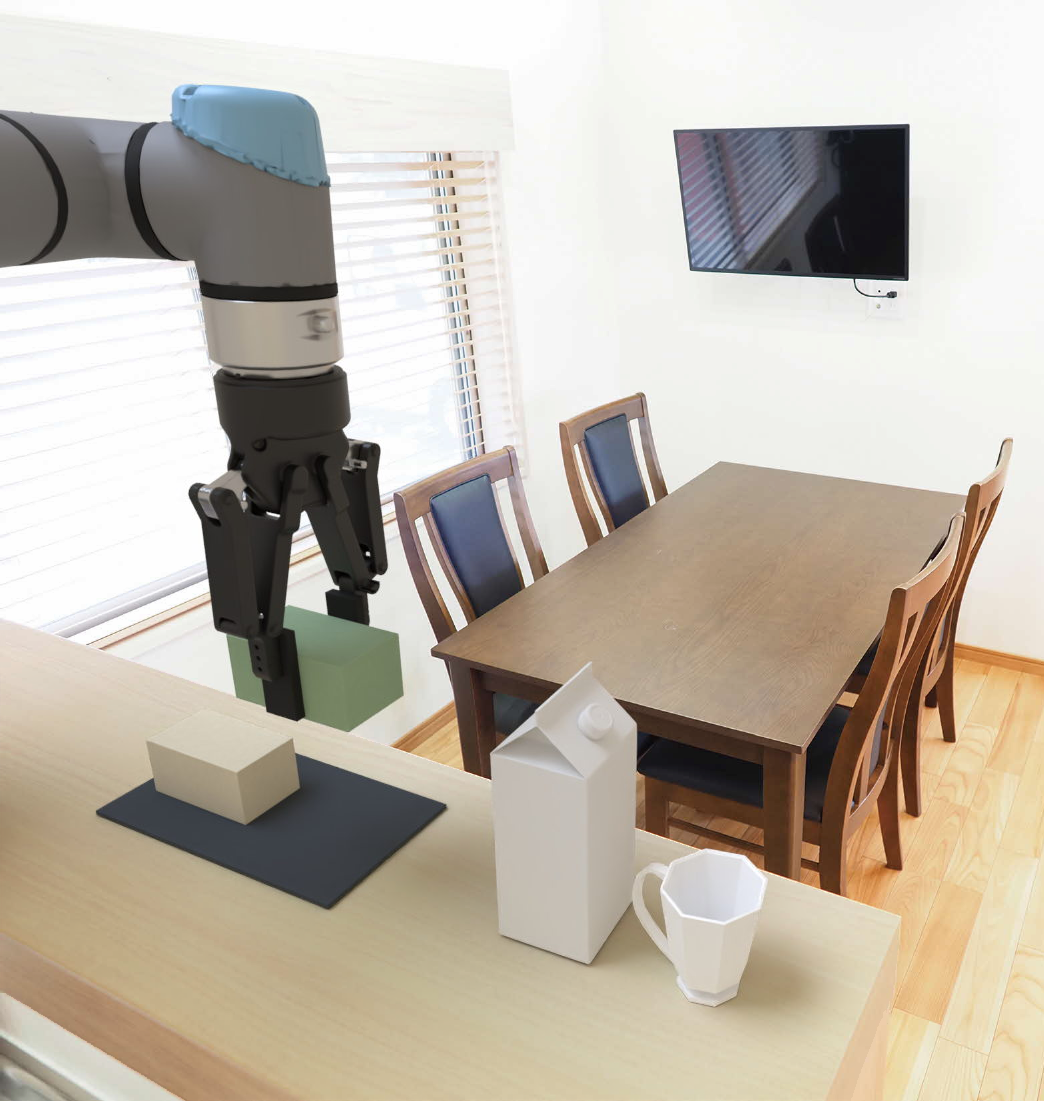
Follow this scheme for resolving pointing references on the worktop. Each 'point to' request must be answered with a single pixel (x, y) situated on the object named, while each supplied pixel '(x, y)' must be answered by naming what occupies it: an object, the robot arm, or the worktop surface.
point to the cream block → (224, 765)
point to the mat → (291, 830)
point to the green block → (331, 668)
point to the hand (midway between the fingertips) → (320, 693)
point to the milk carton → (566, 820)
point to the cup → (705, 920)
